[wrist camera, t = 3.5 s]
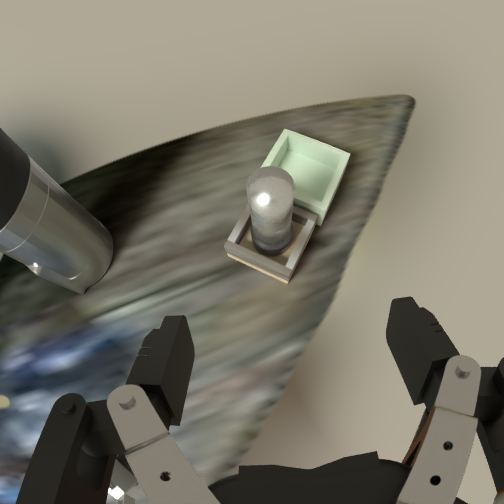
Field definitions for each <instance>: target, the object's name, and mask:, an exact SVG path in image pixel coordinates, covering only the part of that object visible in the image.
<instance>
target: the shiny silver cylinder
mask: <svg viewBox="0 0 504 504" xmlns="http://www.w3.org/2000/svg"><path fill="white" fill-rule="evenodd" d="M246 190H247V196H248V202H249V208H250V214H251V220H252V223H251V227H250V231H251V237H252V242H253V245H254V247H255V249H256V250H257V251H258V252H259V253H261V254H262V255H265V256H269V257H275V256H279V255H281V254H283V253H285V252H286V251H287V250H288V249H289V247H290V245H291V242H292V235H293V225H292V222H291V218H292V209H293V200H294V190H295V184H294V180H293V178H292V177H291V175H290V174H289V173H288V172H287V171H285V170H284V169H282V168H279V167H274V166H267V167H262V168H259V169H257V170H256V171H254V172H253V173H252V174H251V175H250V177H249V178H248V180H247V184H246Z"/></svg>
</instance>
